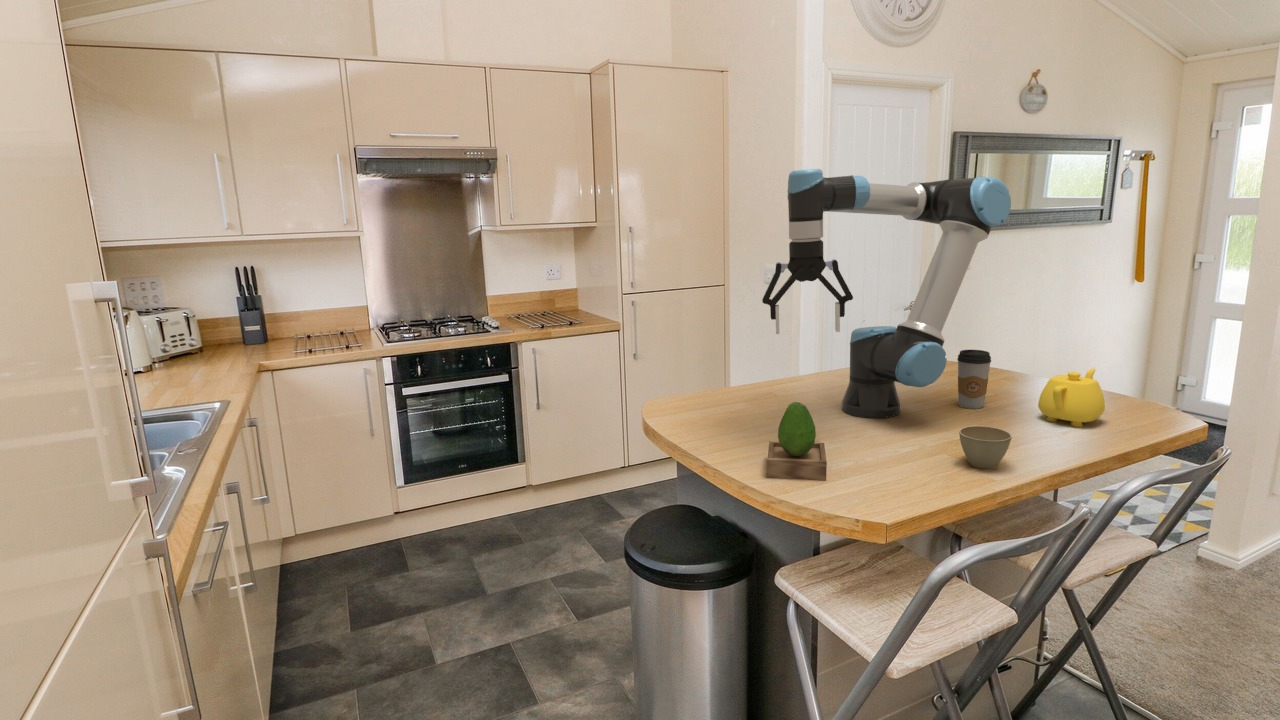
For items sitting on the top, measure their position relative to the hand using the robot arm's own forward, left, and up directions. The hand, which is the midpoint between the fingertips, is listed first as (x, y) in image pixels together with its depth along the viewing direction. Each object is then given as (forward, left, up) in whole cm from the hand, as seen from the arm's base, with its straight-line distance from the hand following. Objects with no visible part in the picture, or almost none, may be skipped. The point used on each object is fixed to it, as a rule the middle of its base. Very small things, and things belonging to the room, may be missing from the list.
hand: (807, 332), depth 162 cm
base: (+2, +19, -27) cm, 33 cm away
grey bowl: (-37, +12, -27) cm, 47 cm away
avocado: (+2, +18, -24) cm, 30 cm away
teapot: (-66, -23, -27) cm, 75 cm away
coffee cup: (-45, -34, -27) cm, 63 cm away
